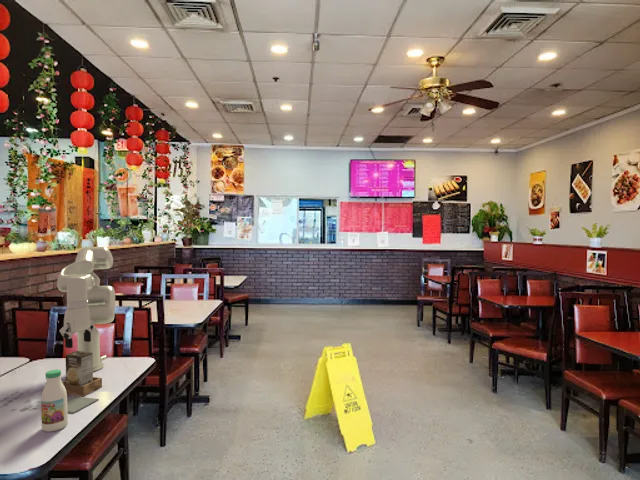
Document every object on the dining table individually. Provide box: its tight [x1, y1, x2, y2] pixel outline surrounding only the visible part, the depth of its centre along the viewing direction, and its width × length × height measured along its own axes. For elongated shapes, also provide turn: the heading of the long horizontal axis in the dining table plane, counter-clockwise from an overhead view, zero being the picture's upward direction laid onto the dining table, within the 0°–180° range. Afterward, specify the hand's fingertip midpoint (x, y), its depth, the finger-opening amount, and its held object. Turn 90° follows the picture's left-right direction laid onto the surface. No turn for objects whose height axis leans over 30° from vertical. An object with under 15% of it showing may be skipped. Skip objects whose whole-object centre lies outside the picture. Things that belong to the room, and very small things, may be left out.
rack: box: [62, 376, 103, 397], centre depth 178 cm, size 10×13×4 cm
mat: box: [67, 395, 99, 415], centre depth 163 cm, size 12×12×1 cm
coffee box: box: [65, 350, 94, 386], centre depth 177 cm, size 9×6×16 cm
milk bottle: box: [40, 369, 69, 433], centre depth 145 cm, size 8×8×20 cm
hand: (78, 344), depth 177 cm, fingers open, 9 cm apart
